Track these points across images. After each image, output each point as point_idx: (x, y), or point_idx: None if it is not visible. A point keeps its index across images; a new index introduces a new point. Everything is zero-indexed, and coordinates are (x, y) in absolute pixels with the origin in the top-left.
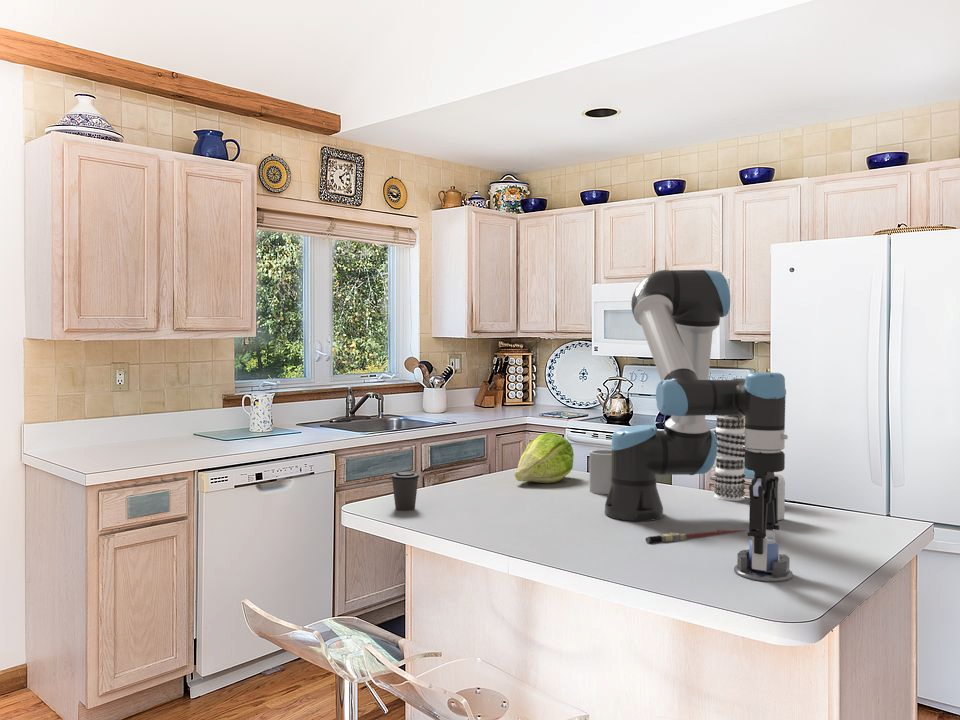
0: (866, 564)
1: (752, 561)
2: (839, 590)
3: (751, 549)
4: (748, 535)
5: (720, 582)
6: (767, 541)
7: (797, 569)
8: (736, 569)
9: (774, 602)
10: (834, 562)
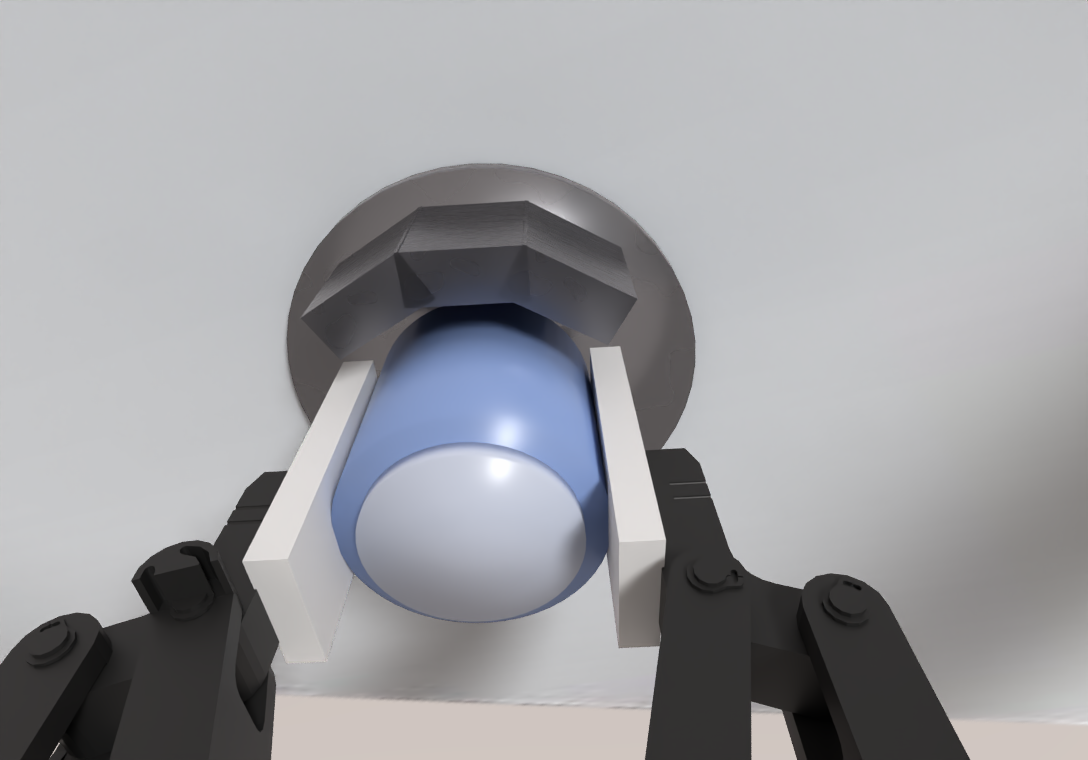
0: (971, 684)
1: (329, 396)
2: (465, 678)
3: (369, 420)
4: (163, 556)
5: (42, 194)
6: (448, 577)
7: (711, 492)
8: (379, 212)
9: (37, 541)
10: (957, 592)
